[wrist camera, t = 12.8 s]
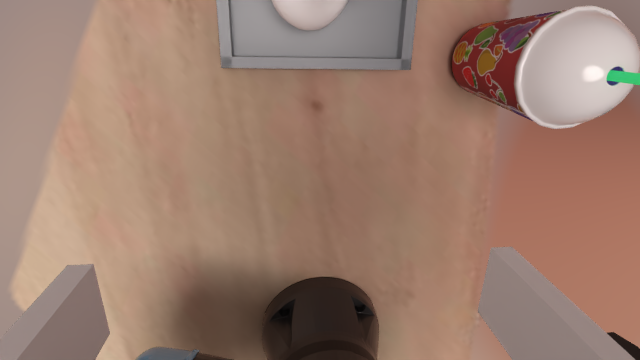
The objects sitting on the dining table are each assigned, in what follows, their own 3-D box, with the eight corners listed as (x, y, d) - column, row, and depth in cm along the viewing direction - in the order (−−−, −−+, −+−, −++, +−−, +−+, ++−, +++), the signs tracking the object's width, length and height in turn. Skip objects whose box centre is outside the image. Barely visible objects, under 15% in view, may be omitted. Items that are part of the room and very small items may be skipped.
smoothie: (482, 112, 41) (647, 177, 23) (423, 73, 39) (554, 109, 20) (531, 43, 39) (760, 53, 20) (472, -3, 37) (669, -39, 18)
